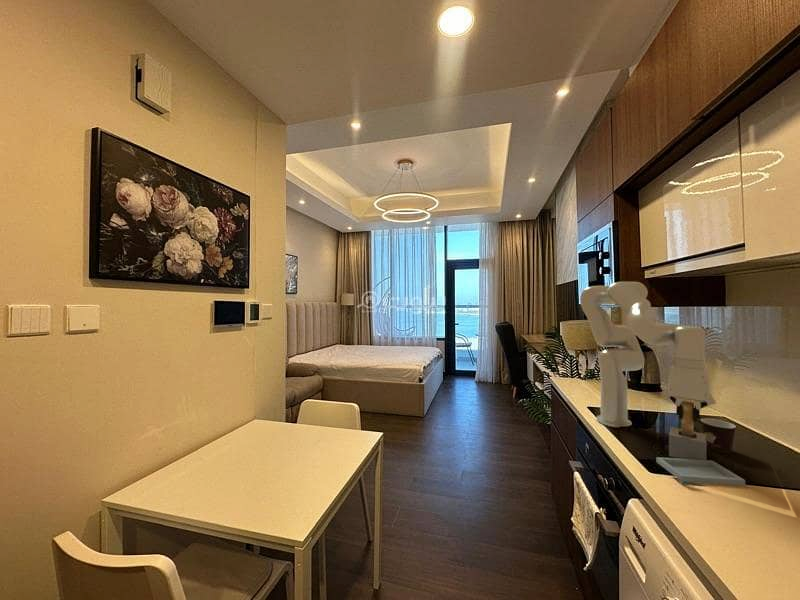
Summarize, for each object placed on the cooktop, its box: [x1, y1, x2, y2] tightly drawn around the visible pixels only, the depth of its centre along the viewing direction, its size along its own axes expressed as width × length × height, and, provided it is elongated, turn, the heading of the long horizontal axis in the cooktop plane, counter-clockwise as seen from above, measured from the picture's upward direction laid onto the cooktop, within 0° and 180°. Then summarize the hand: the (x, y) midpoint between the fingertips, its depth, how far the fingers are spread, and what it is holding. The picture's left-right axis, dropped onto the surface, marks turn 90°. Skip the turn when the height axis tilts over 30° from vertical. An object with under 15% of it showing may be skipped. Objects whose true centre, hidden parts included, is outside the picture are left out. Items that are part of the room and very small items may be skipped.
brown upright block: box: [680, 400, 695, 438], centre depth 107 cm, size 3×3×14 cm
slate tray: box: [655, 456, 746, 488], centre depth 96 cm, size 11×16×2 cm
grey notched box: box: [668, 426, 707, 460], centre depth 107 cm, size 9×9×8 cm
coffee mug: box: [694, 418, 736, 455], centre depth 113 cm, size 12×9×10 cm
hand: (687, 418), depth 107 cm, fingers closed on brown upright block, 3 cm apart
